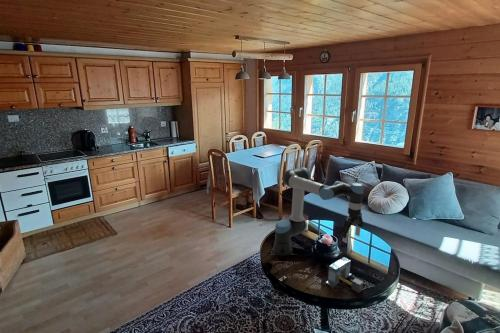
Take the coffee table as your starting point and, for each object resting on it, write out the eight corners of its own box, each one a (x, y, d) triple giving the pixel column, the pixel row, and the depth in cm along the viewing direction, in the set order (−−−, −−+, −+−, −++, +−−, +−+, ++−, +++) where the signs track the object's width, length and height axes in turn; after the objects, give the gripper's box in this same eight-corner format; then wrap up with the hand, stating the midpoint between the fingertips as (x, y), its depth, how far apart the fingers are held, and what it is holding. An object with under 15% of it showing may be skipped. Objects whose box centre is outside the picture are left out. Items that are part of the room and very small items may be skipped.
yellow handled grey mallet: (332, 277, 189) (333, 269, 188) (336, 275, 192) (336, 267, 190) (358, 293, 175) (359, 284, 173) (362, 290, 177) (363, 282, 176)
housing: (325, 283, 184) (326, 266, 181) (344, 271, 196) (345, 255, 193) (332, 287, 180) (334, 271, 177) (351, 275, 192) (352, 259, 189)
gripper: (348, 215, 167) (344, 247, 172) (371, 205, 181) (367, 235, 187) (337, 211, 172) (334, 242, 178) (360, 201, 187) (357, 230, 193)
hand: (351, 238), depth 183 cm, fingers open, 13 cm apart
